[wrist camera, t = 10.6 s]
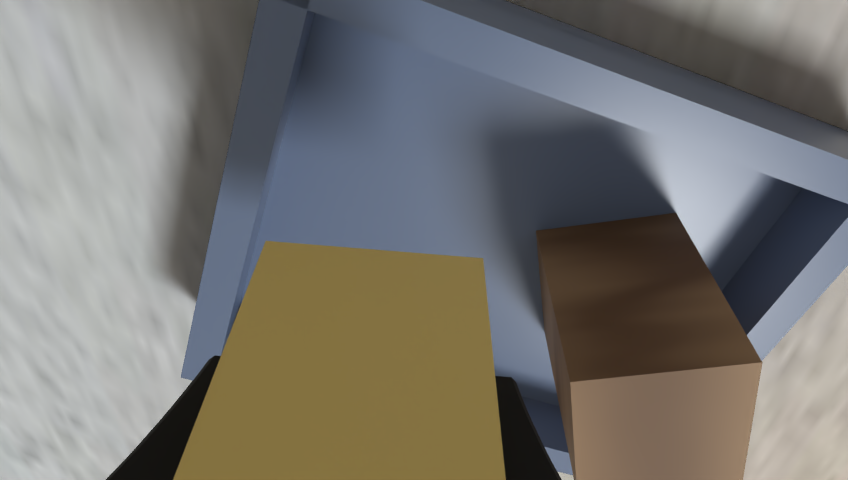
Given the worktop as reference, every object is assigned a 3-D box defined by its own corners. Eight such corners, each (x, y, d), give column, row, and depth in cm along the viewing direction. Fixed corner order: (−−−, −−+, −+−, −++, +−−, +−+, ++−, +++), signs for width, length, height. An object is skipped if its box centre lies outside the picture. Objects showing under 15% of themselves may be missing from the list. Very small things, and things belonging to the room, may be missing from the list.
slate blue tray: (853, 133, 18) (918, 185, 16) (622, 424, 25) (643, 492, 23) (297, -80, 16) (270, -56, 13) (209, 313, 22) (180, 377, 20)
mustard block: (482, 258, 12) (516, 579, 7) (458, 406, 14) (469, 729, 9) (265, 241, 12) (143, 556, 7) (274, 393, 14) (186, 715, 9)
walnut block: (676, 212, 19) (762, 362, 14) (670, 317, 21) (742, 479, 16) (535, 230, 19) (570, 382, 14) (544, 331, 21) (576, 493, 16)
